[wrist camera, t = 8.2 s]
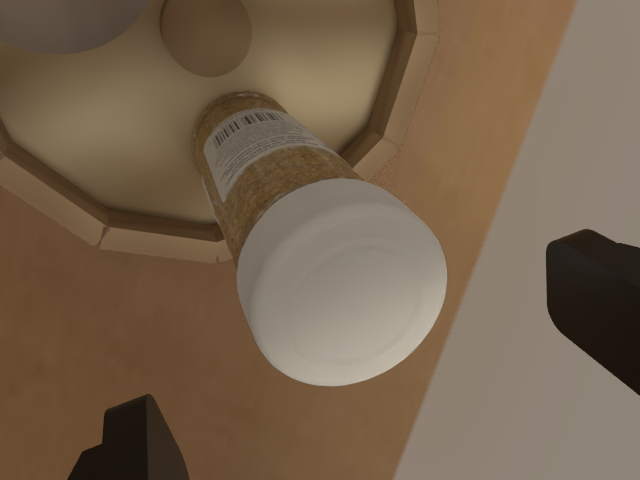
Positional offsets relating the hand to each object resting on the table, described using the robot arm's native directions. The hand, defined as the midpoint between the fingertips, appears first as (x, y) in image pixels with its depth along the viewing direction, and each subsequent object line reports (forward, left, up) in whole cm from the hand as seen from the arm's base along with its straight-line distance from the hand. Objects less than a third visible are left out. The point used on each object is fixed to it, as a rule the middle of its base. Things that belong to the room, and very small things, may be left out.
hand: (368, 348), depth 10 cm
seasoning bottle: (0, 0, -15) cm, 15 cm away
